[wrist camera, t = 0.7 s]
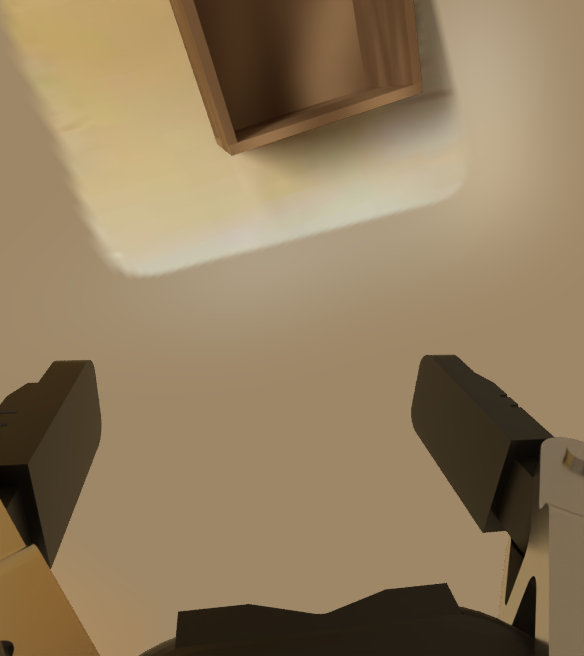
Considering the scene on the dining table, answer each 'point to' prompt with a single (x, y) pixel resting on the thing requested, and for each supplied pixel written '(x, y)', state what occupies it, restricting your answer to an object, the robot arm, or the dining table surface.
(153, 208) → the dining table surface
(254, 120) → the wooden box
